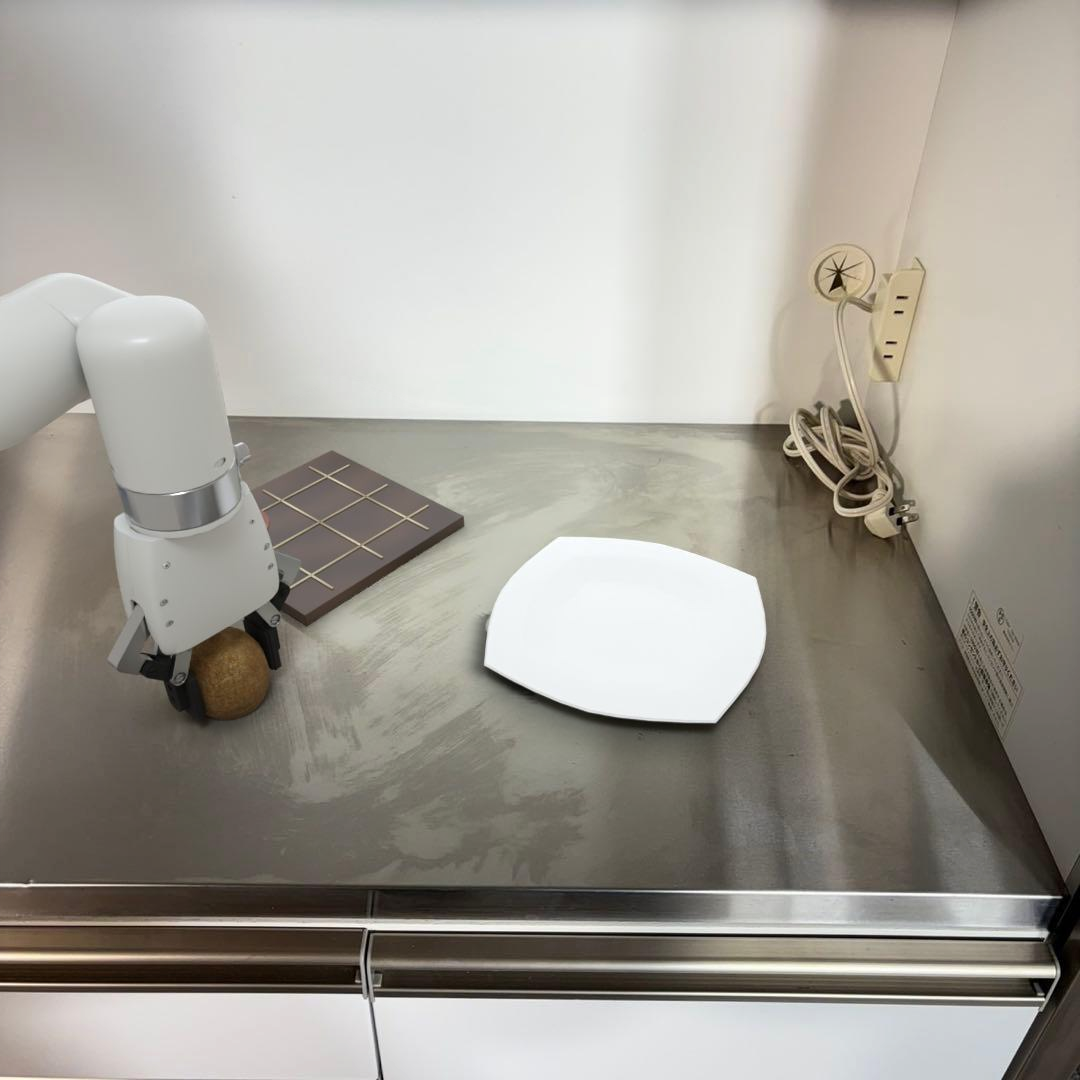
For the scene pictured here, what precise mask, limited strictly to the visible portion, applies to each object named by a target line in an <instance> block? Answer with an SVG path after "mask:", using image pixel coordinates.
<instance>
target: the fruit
mask: <svg viewBox="0 0 1080 1080" xmlns="http://www.w3.org/2000/svg"><path fill="white" fill-rule="evenodd" d="M188 672H189V673H190V674H192V675H193V676H194V677H195V678H196V679H197V682H198V685H199V689H200V693H201V696H202V700H203V704H204V707H205V711H206V714H205V716H207V717H209V718H212V719H215V720H219V721H226V720H227V721H230V720H231V721H232V720H235V719H239V718H243V717H245V716H247V715H248V714H250V713H252V712H254V711H256V709H257V708H258V707H259V706H260V705H261V704H262V703H263V701H264V699H265V697H266V695H267V692H268V687H269V682H270V678H271V675H270V673H271V672H270V668H269V666H268V663H267V660H266V657H265V654H264V651H263V649H262V647H261V646H260V644H259V643H258V642H257V641H256V640H255V639H254V638H253V637H251V636H250V635H249V634H248V633H246V632H245V630H243V629H240V628H237V627H234V626H228V627H227V628H225V629H223V630H222V631H220V632H218V633H216V634H215V635H213V636H211V637H210V638H208V639H206V640H204V641H203V642H201V643H199V644H197V645H196V646H194V647H193V648H192V654H191V660H190V666H189V671H188Z"/></svg>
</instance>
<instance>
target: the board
mask: <svg viewBox="0 0 1080 1080" xmlns="http://www.w3.org/2000/svg"><path fill="white" fill-rule="evenodd" d="M250 491H251V493H252V495H253V497H254V499H255V501H256V503H257V505H258V507H259V510H260V512H261V514H262V517H263V520H264V522H265V525H266V528H267V530H268V533H269V536H270V540H271V543H272V547H273V548H275V549H278V550H280V551H283V552H286V553H289V554H291V555H292V556H294V557H296V558H297V559H299V560H300V561H301V562H302V565H301V568H300V569H299V571H298V573H297V575H296V577H295V579H294V581H293V583H292V584H290V586H289V587H290V593H289V595H288V597H287V599H286V601H285V603H284V605H283V607H282V608H281V610H282V611H283V612H285V613H286V614H287V615H289V616H290V617H292V618H294V619H295V620H297V621H298V622H300V623H301V624H303V625H304V626H306V627H308V626H309V625H310V624H312V623H314V622H316V621H317V620H318V619H320V618H322V617H323V616H325V615H326V614H328V613H329V612H331V611H332V610H334V609H336V608H337V607H339V606H341V605H342V604H344V603H345V602H346V601H349V600H350V599H351V598H353V597H355V596H356V595H358V594H360V593H361V592H363V591H365V590H366V589H368V588H369V587H370V586H372V585H374V584H375V583H377V582H378V581H380V580H382V579H383V578H385V577H387V576H388V575H389V574H391V573H392V572H394V571H395V570H397V569H398V568H399V569H400V567H403V565H405V564H407V563H408V562H410V561H412V560H413V559H414V558H416V557H418V556H419V555H421V554H423V553H424V552H425V551H427V550H428V549H430V548H431V547H433V546H435V545H436V544H438V543H439V542H441V541H443V540H445V539H446V538H448V537H449V536H451V535H452V534H454V533H455V532H457V531H459V530H460V529H461V528H463V527H465V516H464V515H462V514H460V513H459V512H457V511H454V510H453V509H451V508H449V507H446V506H445V505H442V504H440V503H439V502H436V501H435V500H432V499H430V498H429V497H427V496H424V495H422V494H421V493H419V492H417V491H415V490H412V489H410V488H408V487H407V486H404V485H403V484H401V483H399V482H396V481H394V480H393V479H390V478H389V477H387V476H385V475H383V474H381V473H379V472H377V471H375V470H372V469H370V468H369V467H367V466H366V465H365V466H364V465H363V464H361V463H359V462H357V461H354V460H353V459H350V458H349V457H346V456H345V455H343V454H340V453H338V452H337V451H335V450H332V449H330V450H329V451H327V452H325V453H323V454H321V455H318V456H317V457H315V458H313V459H311V460H309V461H306V462H305V463H304V464H301V465H299V466H297V467H294V468H293V469H292V470H291V469H290V470H289V471H287V472H285V473H284V474H282V475H279V476H277V477H276V478H274V479H271V480H269V481H267V482H266V483H264V484H262V485H261V484H260V485H259V486H258V487H255V488H253V489H250Z"/></svg>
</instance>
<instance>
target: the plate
mask: <svg viewBox="0 0 1080 1080" xmlns="http://www.w3.org/2000/svg"><path fill="white" fill-rule="evenodd" d="M766 623H767V622H766V613H765V608H764V603H763V598H762V594H761V591H760V587H759V583H758V580H757V577H756V576H753V575H751V574H749V573H746V572H744V571H741V570H740V569H737V568H735V567H733V566H729V565H727V564H724V563H721V562H719V561H716V560H715V559H712V558H709V557H706V556H702V555H700V554H697V553H694V552H690V551H688V550H684V549H681V548H678V547H675V546H670V545H666V544H663V543H659V542H652V541H651V542H650V541H644V540H636V539H625V538H614V537H612V538H611V537H595V536H594V537H593V536H592V537H591V536H558V537H556V538H555V539H553V540H552V541H551V542H549V543H548V544H547V545H545V547H543V548H541V550H539V551H538V552H536V553H535V554H534V555H533V556H532V557H531V558H529V559H528V560H527V561H525V562H524V563H523V564H522V565H521V566H520V567H519V569H518V570H516V571H515V572H514V574H512V575H511V576H510V578H509V579H508V581H507V582H506V583H505V584H504V586H503V587H502V589H501V590H500V591H499V594H498V596H497V597H496V600H495V602H494V604H493V606H492V610H491V614H490V618H489V621H488V626H487V634H486V641H485V650H484V661H483V666H484V667H485V668H486V669H488V670H490V671H492V672H493V673H496V675H499V676H501V677H503V678H504V679H506V680H508V681H510V682H511V683H514V684H516V685H518V686H520V687H522V688H524V689H526V690H528V691H530V692H532V693H533V694H536V695H539V696H541V697H543V698H545V699H548V700H551V701H554V702H555V703H557V704H560V705H563V706H565V707H569V708H572V709H575V710H577V711H580V712H583V713H586V714H591V715H597V716H602V717H608V718H612V719H619V720H620V719H621V720H629V721H637V722H639V721H640V722H648V723H663V724H664V723H665V724H683V725H684V724H685V725H716V724H717V722H718V721H719V720H720V719H721V718H722V717H723V715H724V714H725V713H726V712H727V710H728V709H729V708H730V707H731V706H732V705H733V704H734V702H735V701H736V700H737V698H738V697H739V696H740V695H741V693H742V692H743V691H744V690H745V688H746V687H747V686H748V685H749V683H750V682H751V680H752V677H753V676H754V674H755V673H756V671H757V669H758V668H759V666H760V664H761V660H762V657H763V656H764V652H765V648H766V641H767V640H766V639H767V624H766Z"/></svg>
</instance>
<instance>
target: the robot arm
mask: <svg viewBox="0 0 1080 1080" xmlns="http://www.w3.org/2000/svg"><path fill="white" fill-rule="evenodd" d="M89 400H91V403H92V407H93V410H94V414H95V417H96V420H97V423H98V427H99V431H100V434H101V438H102V441H103V445H104V447H105V451H106V454H107V459H108V462H109V465H110V469H111V471H112V475H113V479H114V482H115V485H116V488H117V492H118V496H119V499H120V502H121V506H122V510H123V512H122V513H120V514H118V515H117V516H115V518H114V519H113V548H114V550H113V551H114V560H115V568H116V575H117V581H118V586H119V590H120V595H121V598H122V599H121V601H122V604H123V609H124V612H125V616H126V619H127V621H126V622H125V624H124V627H123V628H122V630H121V632H120V633H119V635H118V638H117V639H116V640H115V643H114V645H113V647H112V648H111V651H110V652H109V654H108V656H107V659H106V660H107V661H106V662H107V663H108V664H109V665H110V666H111V667H112V668H113V669H115V670H116V671H117V672H119V673H122V674H129V675H133V676H142V677H145V678H146V679H149V680H155V681H160V682H163V685H164V689H165V691H166V694H167V699H168V701H169V703H170V705H171V706H172V707H173V708H174V709H175V710H176V711H177V712H179V713H182V712H184V711H185V712H186V713H187V714H189V715H190V716H191V717H192V718H193V719H195V720H196V721H201V720H202V719H204V717H206V711H205V707H204V704H203V700H202V696H201V693H200V689H199V685H198V682H197V679H196V678H195V677H194V676H193V675H192V674H190V673H189V672H188V671H189V666H190V660H191V654H192V648H193V647H194V646H196V645H197V644H199V643H201V642H203V641H204V640H206V639H208V638H210V637H211V636H213V635H215V634H216V633H218V632H220V631H222V630H223V629H225V628H227V627H231V626H232V625H233V624H235V623H237V622H238V621H240V620H242V619H243V620H242V623H243V628H244V631H245V632H246V633H248V634H249V635H250V636H251V637H253V638H254V639H255V640H256V641H257V642H258V643H259V644H260V646H261V647H262V649H263V651H264V654H265V657H266V660H267V663H268V666H269V670H270V671H277V670H279V669H280V668H281V667H282V660H281V657H280V651H279V650H280V649H281V643H280V642H281V641H280V637H279V633H278V632H279V631H278V627H277V626H279V624H280V623H281V621H282V619H283V615H282V614H281V613H280V612H281V610H282V609H281V608H282V607H283V605H284V603H285V601H286V599H287V597H288V595H289V593H290V587H289V586H290V584H292V583H293V581H294V579H295V577H296V575H297V573H298V571H299V569H300V568H301V565H302V562H301V561H300V560H299V559H297V558H296V557H294V556H292V555H291V554H289V553H286V552H283V551H280V550H278V549H275V548H273V547H272V543H271V540H270V536H269V533H268V530H267V528H266V525H265V522H264V520H263V517H262V514H261V512H260V510H259V507H258V505H257V503H256V501H255V499H254V497H253V495H252V493H251V489H250V486H248V484H247V483H246V482H245V481H244V480H243V478H242V473H241V468H240V467H242V466H243V465H244V463H246V462H248V461H250V460H251V458H252V454H251V450H250V449H249V447H248V446H247V444H246V443H245V442H242V441H240V442H238V443H236V444H234V443H233V439H232V433H231V428H230V423H229V419H228V415H227V414H228V412H227V409H226V404H225V399H224V394H223V389H222V383H221V379H220V374H219V369H218V363H217V359H216V354H215V349H214V345H213V338H212V336H211V330H210V328H209V324H208V322H207V319H206V318H205V316H204V315H203V313H202V312H201V310H199V309H198V308H197V307H196V306H195V305H194V304H192V303H190V302H188V301H186V300H184V299H182V298H178V297H174V296H168V295H154V294H153V295H152V294H149V295H137V294H134V293H130V292H127V291H125V290H123V289H120V288H117V287H115V286H112V285H109V284H107V283H106V282H102V281H100V280H97V279H95V278H91V277H89V276H87V275H83V274H79V273H72V272H56V273H49V274H47V275H43V276H40V277H38V278H35V279H33V280H31V281H29V282H27V283H25V284H23V285H21V286H19V287H18V288H15V289H14V290H12V291H10V292H7V293H5V294H2V295H1V296H0V452H1V451H5V450H7V449H10V448H12V447H15V446H17V445H19V444H21V443H22V442H24V441H26V440H27V439H29V438H30V437H32V436H33V435H35V434H36V433H38V432H39V431H41V430H43V429H44V428H46V427H47V426H48V425H49V424H51V423H52V422H54V421H55V420H57V419H59V418H60V417H61V416H63V415H64V414H66V413H67V412H69V411H70V410H71V409H73V408H75V407H76V406H78V405H80V404H82V403H84V402H86V401H89ZM150 635H151V638H152V639H153V648H152V653H148V652H142V650H143V648H144V647H145V644H146V642H147V641H148V639H149V637H150Z"/></svg>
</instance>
